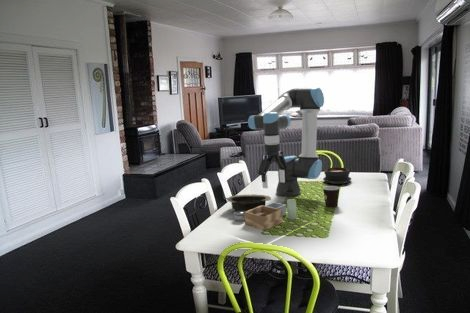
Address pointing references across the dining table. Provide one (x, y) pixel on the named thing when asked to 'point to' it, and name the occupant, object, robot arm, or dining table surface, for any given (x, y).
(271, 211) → the oak crate
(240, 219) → the pewter tin
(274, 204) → the grey tub
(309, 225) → the dining table surface
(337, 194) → the coffee mug
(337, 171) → the casserole
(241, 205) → the stone bowl
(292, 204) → the pale green block
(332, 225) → the dining table surface
